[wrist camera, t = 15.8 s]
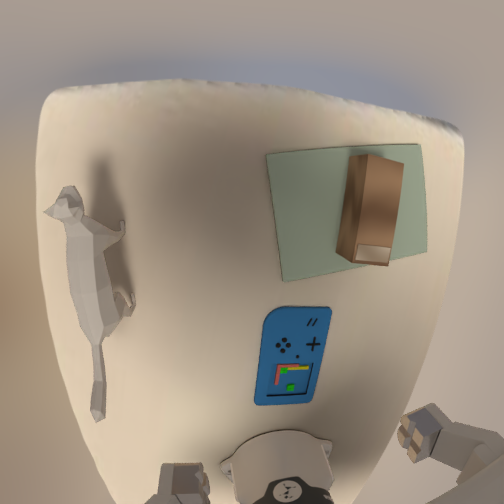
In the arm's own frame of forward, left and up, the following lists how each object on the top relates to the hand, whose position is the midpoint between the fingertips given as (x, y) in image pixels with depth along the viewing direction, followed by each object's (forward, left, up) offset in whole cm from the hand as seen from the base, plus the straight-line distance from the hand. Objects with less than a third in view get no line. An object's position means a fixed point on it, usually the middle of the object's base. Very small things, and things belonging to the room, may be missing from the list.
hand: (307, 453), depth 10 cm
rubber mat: (+5, -14, -25) cm, 29 cm away
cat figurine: (+2, +15, -25) cm, 29 cm away
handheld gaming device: (-13, -4, -25) cm, 29 cm away
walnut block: (+5, -14, -24) cm, 28 cm away
